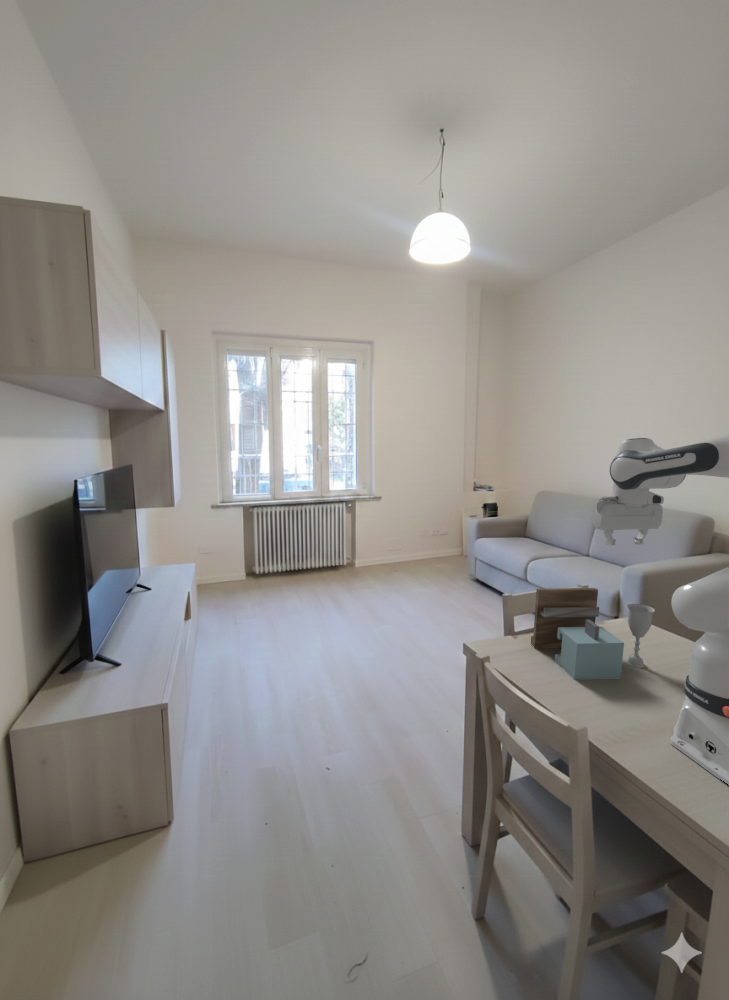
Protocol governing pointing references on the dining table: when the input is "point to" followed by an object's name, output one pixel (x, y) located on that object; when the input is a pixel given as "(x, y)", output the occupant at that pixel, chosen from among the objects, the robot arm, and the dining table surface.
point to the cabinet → (590, 652)
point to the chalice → (638, 629)
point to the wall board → (562, 613)
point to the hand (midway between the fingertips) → (624, 544)
